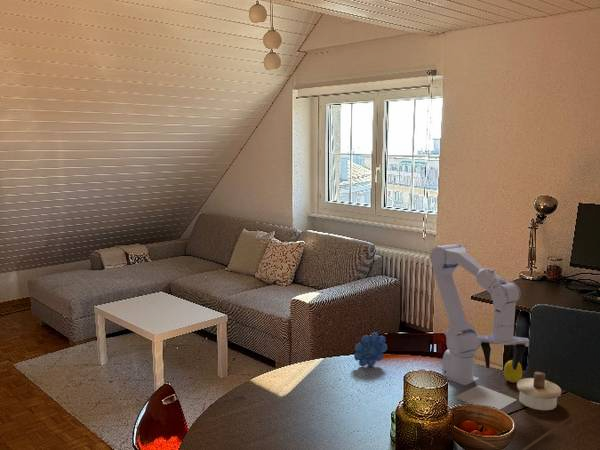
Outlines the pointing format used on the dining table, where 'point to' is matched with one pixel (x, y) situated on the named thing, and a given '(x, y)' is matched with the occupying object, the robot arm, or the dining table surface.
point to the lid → (539, 387)
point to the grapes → (370, 349)
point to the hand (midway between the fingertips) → (500, 367)
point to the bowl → (537, 402)
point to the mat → (485, 397)
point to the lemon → (512, 372)
